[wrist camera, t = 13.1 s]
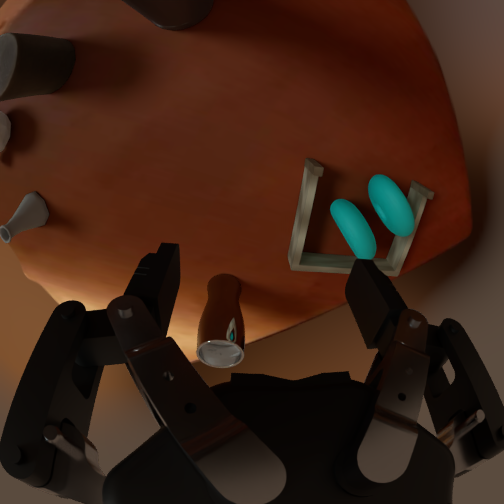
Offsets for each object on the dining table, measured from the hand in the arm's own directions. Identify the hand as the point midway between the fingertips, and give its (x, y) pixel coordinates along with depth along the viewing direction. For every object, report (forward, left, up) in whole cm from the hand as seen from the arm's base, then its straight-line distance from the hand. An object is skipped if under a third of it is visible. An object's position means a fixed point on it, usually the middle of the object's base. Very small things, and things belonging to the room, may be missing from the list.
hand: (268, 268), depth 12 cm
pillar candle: (-15, -33, -28) cm, 46 cm away
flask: (+11, -39, -28) cm, 50 cm away
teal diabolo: (+6, +18, -28) cm, 34 cm away
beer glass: (+24, -2, -28) cm, 37 cm away
